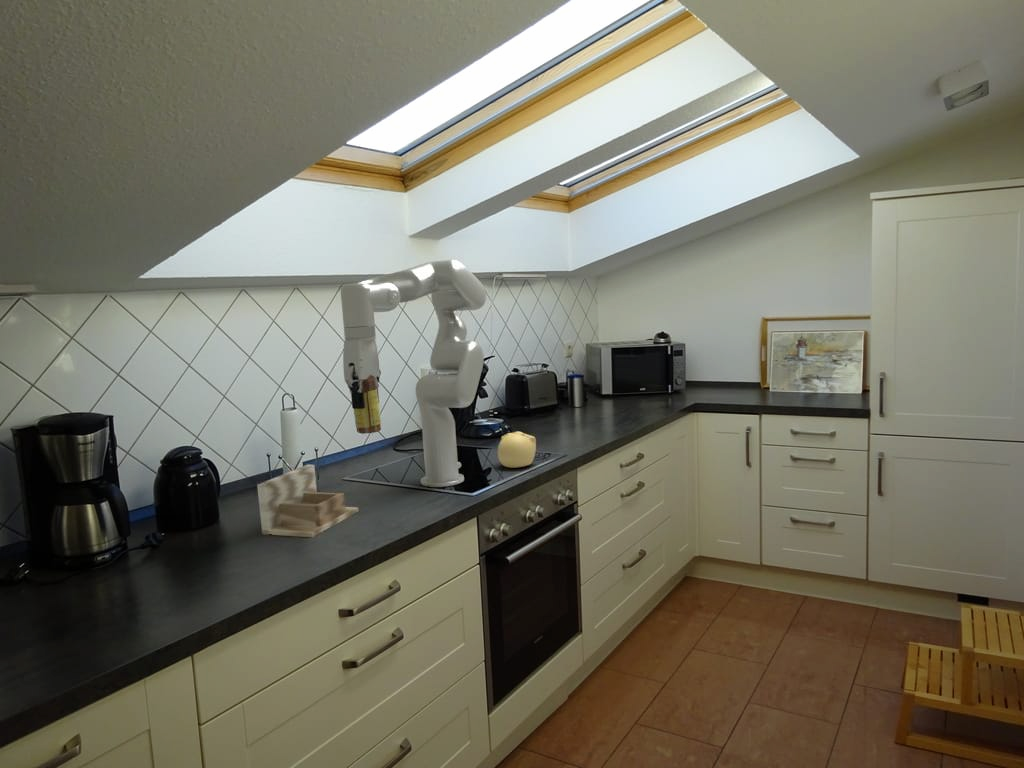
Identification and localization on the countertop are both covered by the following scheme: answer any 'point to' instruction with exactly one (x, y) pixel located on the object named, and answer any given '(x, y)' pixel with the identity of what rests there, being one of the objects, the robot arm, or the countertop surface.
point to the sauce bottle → (368, 409)
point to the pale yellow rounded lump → (516, 449)
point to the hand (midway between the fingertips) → (366, 405)
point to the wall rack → (299, 505)
